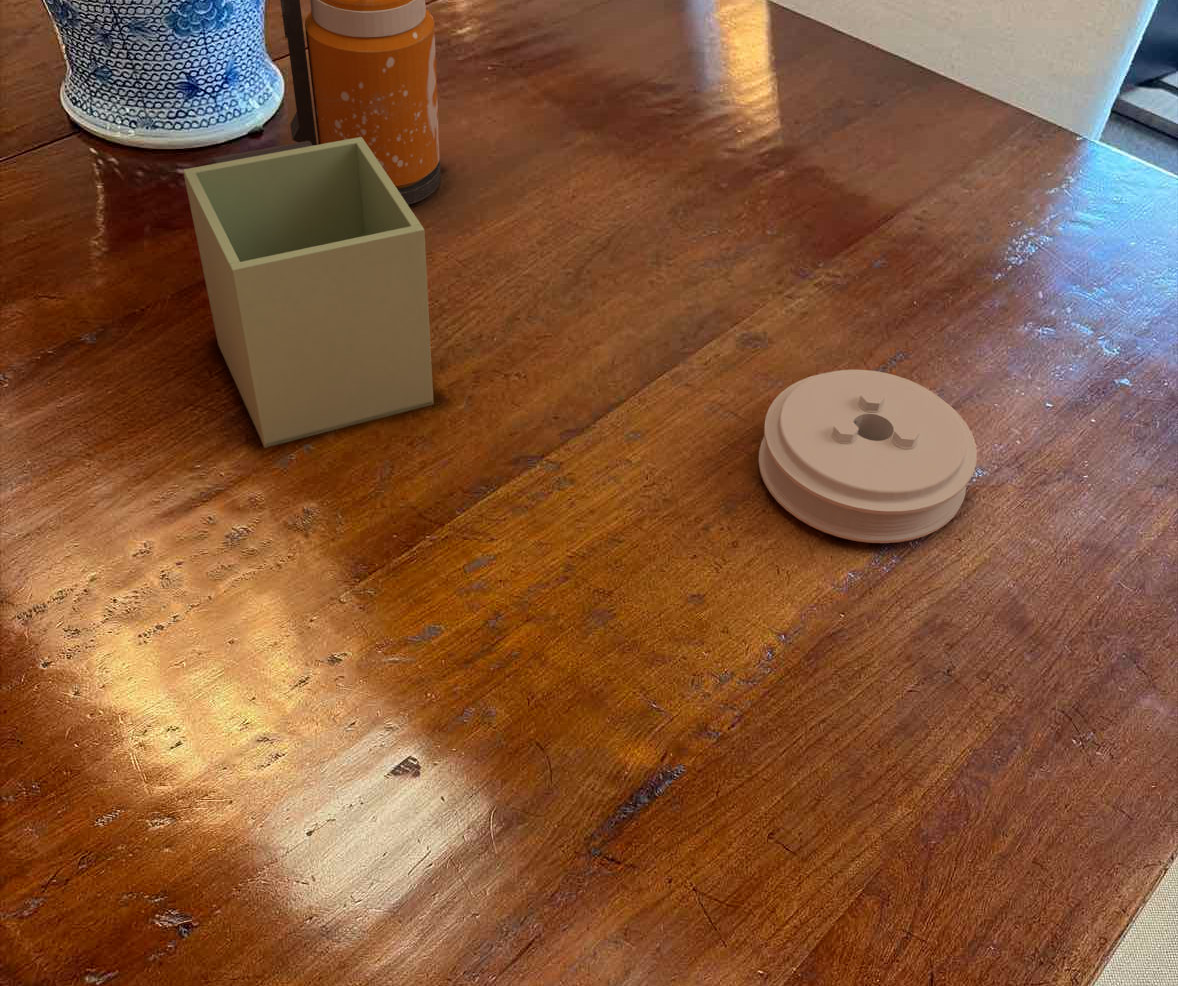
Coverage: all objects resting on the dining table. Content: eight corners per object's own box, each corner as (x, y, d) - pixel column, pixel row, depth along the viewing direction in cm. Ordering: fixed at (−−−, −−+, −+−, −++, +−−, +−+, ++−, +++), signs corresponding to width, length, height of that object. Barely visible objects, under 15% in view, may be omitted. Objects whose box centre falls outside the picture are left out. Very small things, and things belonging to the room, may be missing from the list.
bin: (424, 229, 74) (341, 105, 83) (231, 269, 70) (166, 135, 79) (434, 407, 83) (358, 279, 92) (264, 450, 80) (203, 313, 89)
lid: (718, 494, 79) (729, 431, 75) (814, 389, 86) (828, 327, 83) (908, 586, 75) (929, 524, 71) (993, 467, 82) (1016, 405, 78)
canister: (448, 211, 98) (438, -64, 84) (300, 223, 97) (262, -57, 82) (432, 151, 104) (420, -117, 90) (292, 160, 102) (255, -112, 88)
